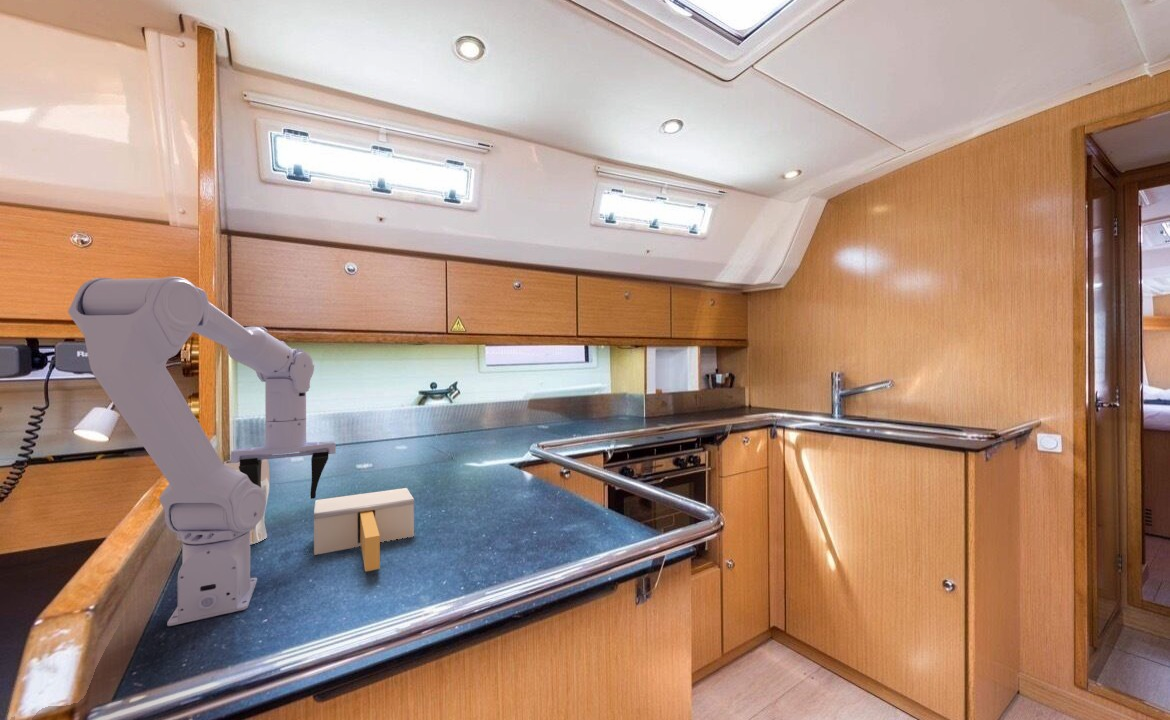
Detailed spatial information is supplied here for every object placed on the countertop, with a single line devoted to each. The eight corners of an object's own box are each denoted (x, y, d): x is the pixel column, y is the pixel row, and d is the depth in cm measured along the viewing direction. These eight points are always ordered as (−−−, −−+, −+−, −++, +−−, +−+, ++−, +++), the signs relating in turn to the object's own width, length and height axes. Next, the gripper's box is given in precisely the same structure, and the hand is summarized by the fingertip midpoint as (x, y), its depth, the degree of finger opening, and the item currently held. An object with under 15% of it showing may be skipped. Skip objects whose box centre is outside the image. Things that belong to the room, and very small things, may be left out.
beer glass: (214, 545, 81) (214, 461, 81) (257, 532, 87) (257, 454, 87) (234, 552, 78) (234, 465, 78) (277, 538, 84) (277, 457, 84)
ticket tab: (379, 568, 68) (379, 535, 68) (365, 571, 67) (365, 538, 67) (372, 538, 81) (372, 510, 81) (360, 540, 80) (360, 512, 80)
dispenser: (414, 537, 83) (414, 499, 84) (313, 556, 76) (313, 514, 76) (407, 522, 92) (406, 487, 92) (315, 537, 84) (315, 500, 84)
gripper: (335, 414, 83) (335, 488, 83) (236, 420, 76) (236, 501, 76) (335, 418, 77) (335, 498, 76) (228, 424, 70) (228, 513, 69)
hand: (286, 500), depth 76 cm, fingers open, 7 cm apart
